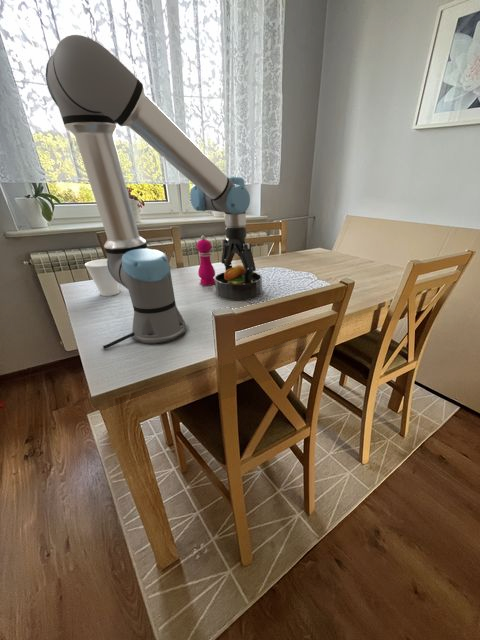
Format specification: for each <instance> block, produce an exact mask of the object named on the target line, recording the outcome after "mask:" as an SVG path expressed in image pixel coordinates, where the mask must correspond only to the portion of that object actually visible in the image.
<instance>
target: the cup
mask: <svg viewBox="0 0 480 640" xmlns="http://www.w3.org/2000/svg"><path fill="white" fill-rule="evenodd" d="M84 266H85V268H86V271H88V273H89V275H90V277H91V279H92V280H93V282H94V284H95V286H96V288H97V290H98V291H99V293H100V295H101V296H104V297H111V296H116V295H118V294H119V293H120V283H118V282H117V281H116V280H115V279H114V278H113V277H112V276H111V274H110V272H109V270H108V267H107V258H99V259H93V260H90V261H87V262H85V263H84Z"/></svg>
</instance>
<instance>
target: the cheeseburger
mask: <svg viewBox="0 0 480 640" xmlns="http://www.w3.org/2000/svg"><path fill="white" fill-rule="evenodd" d="M224 272H225V275H224V279H225V280H227V281H228V284H245V279H244V275H243V274H244V273H243V272H245V268H244V266H243V265H242V264H238V265H236V266H232V268H230V269H228V270H225V271H224ZM251 282H253V281H252V280H251Z"/></svg>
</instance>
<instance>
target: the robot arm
mask: <svg viewBox="0 0 480 640" xmlns="http://www.w3.org/2000/svg"><path fill="white" fill-rule="evenodd" d="M45 82H46V86H47V90H48V93H49V95H50V96H51V98H52V100H53V102H54V104H55V105H56V107H57V108H58V110H59V113H60V117H61V119H62V122H63V125H64V128H66V129H67V130H68V131H69V132H70V133H71V134H73V136H74V137H75V140H76V144H77V146H78V147H77V148H78V150H79V153H80V156H81V159H82V162H83V166H84V169H85V172H86V176H87V179H88V181H89V184H90V185H89V186H90V188H91V191H92V195H93V197H94V201H95V204H96V207H97V210H98V213H99V216H100V220H101V222H102V227H103V229H104V233H105V236H106V238H107V239H106V241H105V243H104V245H103V247H104V251H105V254H106V257H107V258H106V259H107V267H108V270H109V272H110V274H111V276H112V277H113V278H114V279H115V280H116V281H117V282H118V283H119V285H122V286H123V287H124V288H126V290H128V293H129V296H130V300H131V303H132V304H131V305H132V309H133V319H132V329H131V333H129V334H127V335H124V336H122V337H119V338H118V339H116V340H113V341H112V342H109V343H107V344H105V345H102V348H103V350H106V349H108V348H111V347H113V346H115V345H118V344H119V343H121V342H123V341H125V340H127V339H130V338H132V337H133V339H134V340H135V341H137V342H139V343H141V344H147V345H158V344H165V343H169V342H172V341H174V340H177V339H179V338H180V337H182V336H183V335H184V334H185V333H186V331H187V326H186V322H185V320H184V318H183V316H182V314H181V312H180V310H179V308H178V307H177V304H176V299H175V298H176V297H175V292H174V284H173V278H172V273H171V265H170V263H169V258H168V256H167V255H166V254H165V252H163V251H160V250H158V249H152V248H148V244H147V240H146V239H145V238H143V237H142V236H140V233H139V229H138V226H137V222H136V218H135V214H134V211H133V205H132V202H131V199H130V195H129V191H128V187H127V183H126V179H125V176H124V171H123V167H122V163H121V160H120V155H119V152H118V148H117V145H116V142H115V137H114V134H115V132H116V130H117V128H118V125H119V126H120V127H122V128H123V127H128V128H129V129H130V130H131V131H132V132H133V133H135V134H136V135H137V136H138V137H139V138H141V140H142V141H144V142H145V143H146V144H147V145H148V146H149V147H151V148H152V149H153V150H154V151H155V152H156V153H158V154H159V156H161V157H162V158H163V159H164V160H166V161H167V163H169V165H172V167H174V168H175V169H176V170H177V171H178V172H180V174H182V175H183V176H184V177H185V178H186V179H187V180H188V181H190V182H191V183H192V184H193V185H192V186H191V187H190V191H189V200H190V203H191V206H192V208H193V209H194V210H195V211H197V212H206V211H212V212H219V213H224V225H225V226H226V227H225V237H226V238H224V239H223V240H222V254H221V261H220V263H221V264H223V265H224V267H225V269H224V270H225V271H226V270H228V269H230V268H233V264H232V262H233V259H234V256H235V254H237V256H238V257H239V258H240V262H241V263H242V266H244V268H245V272H244V279H245V284H246V283H251V280H252V272H256V270H257V269H256V265H255V260H254V256H253V251H252V244H251V243H246V240H245V239H246V238H247V227H246V225H247V215H246V214H247V213H246V211H248V209H249V206H250V203H251V196H250V193H249V190H248V189H247V188H246V185H245V179H244V177H241V176H229V177H228V176H227V175H226V174H225V173H224V172H223V171H222V170H221V169H220V168H219V167H218V166H217V165H216V164H215V163H214V162H213V161H212V160H211V159H210V158H209V157H208V156H207V155H206V154H205V153H204V152H203V151H202V150H201V149H200V148H199V147H198V146H197V145H196V144H195V143H194V142H193V141H192V140H191V139H190V138H189V136H188V135H187V134H185V133H184V131H182V130H181V128H179V127H178V126H177V124H176V123H174V121H173V120H172V119H171V118H170V117H169V116H168V115H167V114H166V113H165V112H164V111H162V109H161V108H160V107H159V106H158V105H157V104H156V103H155V102H154V101H153V99H151V98H150V97H149V96H148V95H147V92H146V88H145V85H144V84H143V83H142V82H141V81H140V79H139V78H137V76H135V75H134V73H133V72H132V71H131V70H130V69H128V67H127V66H126V65H125V64H123V63H122V61H120V60H119V58H117V57H116V56H115V55H114V54H113V53H112V52H110V51H109V49H107V48H106V47H105V46H103V45H102V44H100V43H99V42H97V41H96V40H94V39H92V38H91V37H87V36H84V35H82V34H70V35H68V36H65V37H64V38H62V39H60V41H59V42H58V44H57V45H56V48H55V50H54V52H53V53H52V54H51V56H49V58H48V60H47V63H46V67H45ZM227 283H228V281H227Z"/></svg>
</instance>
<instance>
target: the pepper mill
mask: <svg viewBox="0 0 480 640" xmlns="http://www.w3.org/2000/svg"><path fill="white" fill-rule="evenodd" d="M196 249H197V250H198V256H199V258H200V261H199V267H198V273H197V274H198V277H199V278H200V279H199V280H200V281H199V282H200V285H201V286H213V285H215V276H216V270H215V268H214V266H213V264H212V261H211V255H212V253H211V249H212V243H211V242H210V241H209V240H208V239H206V236H205V235H201V236H200V239H199V240H198V241H197V243H196Z"/></svg>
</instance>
